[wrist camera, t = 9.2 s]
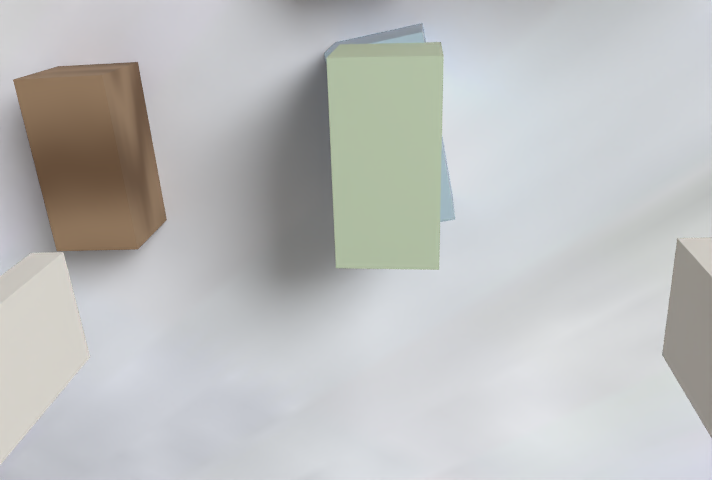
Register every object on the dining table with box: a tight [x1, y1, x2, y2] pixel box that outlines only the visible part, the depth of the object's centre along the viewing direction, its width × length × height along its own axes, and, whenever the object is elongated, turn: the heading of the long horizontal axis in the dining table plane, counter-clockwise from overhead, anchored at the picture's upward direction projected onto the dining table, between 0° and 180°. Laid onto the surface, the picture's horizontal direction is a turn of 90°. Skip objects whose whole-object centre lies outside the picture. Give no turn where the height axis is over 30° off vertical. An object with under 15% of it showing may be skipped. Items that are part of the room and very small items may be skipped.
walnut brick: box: [13, 62, 167, 251], centre depth 32 cm, size 8×4×4 cm, turn 4°
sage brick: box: [326, 42, 443, 270], centre depth 26 cm, size 8×4×4 cm, turn 2°
